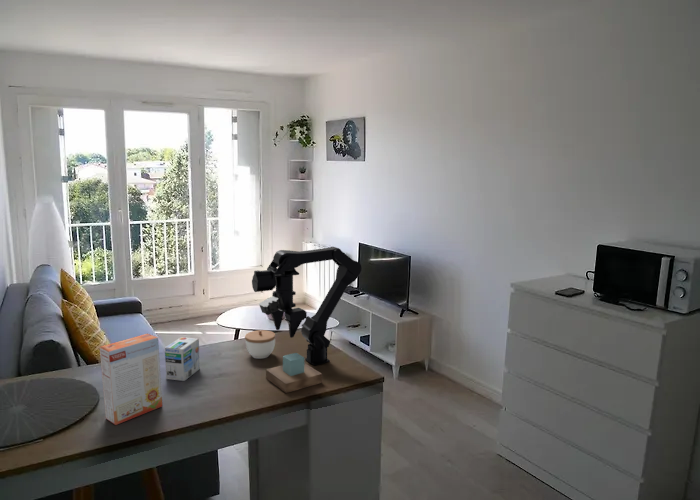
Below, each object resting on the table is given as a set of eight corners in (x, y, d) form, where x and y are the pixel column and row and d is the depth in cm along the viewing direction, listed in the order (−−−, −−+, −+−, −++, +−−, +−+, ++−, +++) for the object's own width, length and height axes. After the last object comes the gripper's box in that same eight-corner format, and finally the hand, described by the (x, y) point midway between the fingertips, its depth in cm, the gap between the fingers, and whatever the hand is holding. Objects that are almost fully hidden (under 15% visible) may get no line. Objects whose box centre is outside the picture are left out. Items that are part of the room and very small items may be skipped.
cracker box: (152, 400, 150) (148, 332, 146) (163, 407, 146) (159, 337, 143) (104, 418, 139) (98, 345, 136) (114, 426, 136) (109, 351, 132)
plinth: (300, 369, 174) (300, 360, 174) (321, 382, 164) (321, 373, 163) (266, 378, 166) (265, 369, 166) (286, 393, 156) (286, 383, 156)
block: (296, 367, 168) (296, 352, 167) (304, 372, 164) (304, 357, 163) (282, 370, 165) (282, 356, 164) (290, 376, 161) (290, 361, 160)
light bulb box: (184, 381, 163) (183, 349, 161) (165, 379, 164) (163, 347, 162) (200, 368, 173) (199, 338, 171) (182, 366, 175) (181, 336, 173)
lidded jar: (251, 349, 191) (250, 325, 190) (279, 351, 190) (278, 326, 188) (241, 360, 181) (240, 334, 179) (270, 362, 180) (270, 336, 178)
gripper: (249, 286, 173) (250, 330, 176) (277, 298, 158) (277, 346, 161) (278, 281, 180) (278, 324, 182) (307, 293, 165) (307, 339, 168)
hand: (284, 333), depth 173 cm, fingers open, 9 cm apart
